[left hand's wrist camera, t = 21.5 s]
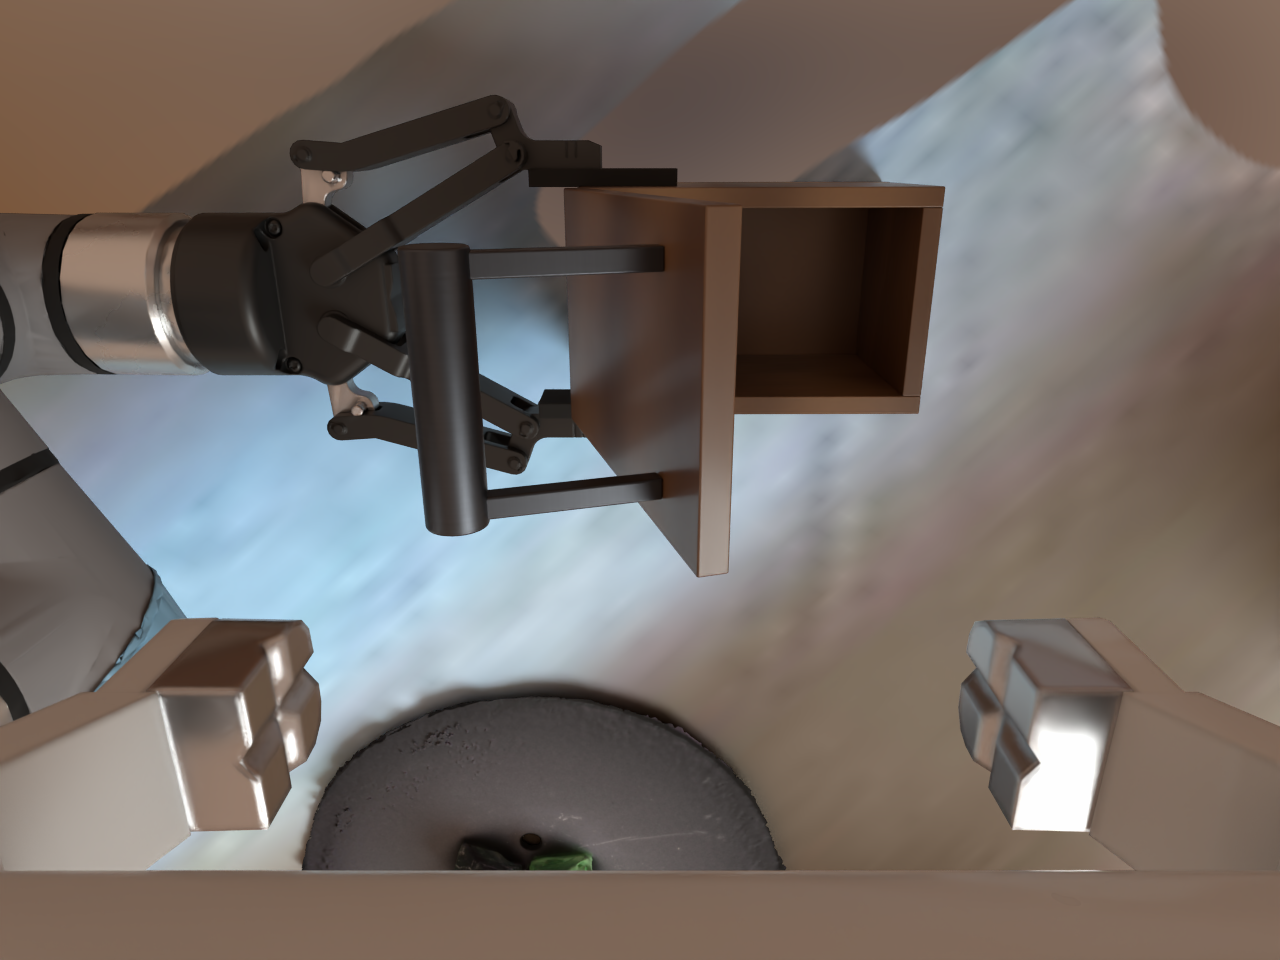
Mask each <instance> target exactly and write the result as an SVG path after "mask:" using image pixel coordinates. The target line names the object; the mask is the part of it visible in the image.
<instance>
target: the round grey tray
mask: <svg viewBox="0 0 1280 960" xmlns="http://www.w3.org/2000/svg"><path fill="white" fill-rule="evenodd" d="M486 701H487V700H486ZM486 701H478V702H468V703H461V704H458V705H456V706H452V707H448V708H445V709H443V710H436V711H435V712H432V713H429V714H426V715H425V716H422V717H421V718H420V719H417V720H414V721H413V722H411V721H410V723H406V724H404V725H402V726H400V727H398V728H397V729H396V728H395V730H392V731H390V732H387V733H386V734H384V736H380V739H379V740H375V741H373V742H371V743H370V745H369V746H368V747H367V748H364V749H361V750H360V751H358V752H357V753H356V754H355V755H353V757H352V759H351V761H346V764H345V765H344V766H343V767H341V768H339V770H338V771H337V773H336V774H337V775H336V776H334V778H333V779H332V781H331V782H330V783H329V784H328V786H327V787H326V788H325V791H324V792H325V793H324V795H323V798H322V800H321V803H320V804H319V806H318V807H319V810H318V809H317V810H318V811H317V810H316V812H317V813H315V816H314V819H313V820H315V821H314V823H313V827H312V831H311V836H310V837H311V839H310V840H308V842H307V844H306V850H305V851H306V852H305V853H306V854H305V857H304V860H303V864H302V868H303V869H302V870H534V871H535V870H539V871H541V870H544V871H547V870H549V871H553V870H554V871H558V870H559V871H778V870H785V869H786V867H785V866H784V865H782V863H783V862H782V859H781V857H780V856H778V855H777V851H776V849H775V848H774V846H775V845H774V841H772V838H773V837H771V835H770V831H769V828H768V827H767V826H765V824H766V823H767V821H766V819H765V818H764V817H763V816H764V815H763V814H762V813H761V811H760V808H759V807H758V805H757V804H756V800H755V798H754V797H753V796H751V793H750V792H751V790H750V789H749V788H747V786H746V785H744V783H743V782H742V780H740V779H739V778H738V777H737V778H736V777H735V776H736V775H735V774H734V773H733V770H732V769H731V767H728V766H727V764H726V763H724V762H723V760H722V761H721V760H720V758H717V759H716V755H714V754H713V753H712V752H710V751H709V750H708V749H706V748H703V747H702V745H701V744H702V743H699V742H698V741H697V740H695V739H694V738H693V737H691V736H690V735H689V734H688V733H684V731H683V728H681V727H679V726H678V727H676V728H674V726H673V724H671V723H668V724H664V723H662V722H661V721H658V719H657V718H656V717H654V718H650V717H648V715H647V716H645V715H639V714H636V712H635V713H633V712H631V711H630V710H626V709H625V710H624V711H623V710H622V708H621V709H620V708H619V709H618V708H617V707H614V706H612V705H609V707H608V706H607V705H602V704H603V703H602V704H599V702H597V703H595V702H594V701H592V700H590V699H588V700H585V699H569V698H568V699H565V698H561V699H560V697H540V696H537V697H534V696H530V697H527V698H524V697H520V698H515V699H514V698H512V699H510V698H508V699H499V700H493V701H487V702H486ZM525 834H535V835H537V836H539V837H540V839H541V841H540V843H539V845H538V844H537V845H531V846H530V845H528V843H525V842H523V841H522V837H523V836H524V835H525Z"/></svg>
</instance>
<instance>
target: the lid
mask: <svg viewBox="0 0 1280 960" xmlns="http://www.w3.org/2000/svg"><path fill="white" fill-rule="evenodd" d="M564 210H565V240H566V247H542V248H509V249H476V250H470V247H469V245H466V244H459V243H422V244H409V245H403V246H400V247H398V249H397V252H398V261H399V271H400V281H401V291H402V300H403V310H404V320H405V330H406V339H407V349H408V359H409V368H410V378H411V388H412V398H413V407H414V417H415V427H416V437H417V446H418V456H419V466H420V476H421V485H422V495H423V505H424V515H425V524H426V528H427V529H428V531H430V532H431V533H434V534H437V535H441V536H462V535H468V534H472V533H475V532H478V531H480V530H482V529H484V528H485V527H486V526H487V525H488V524H489V521H490V519H497V518H506V517H514V516H523V515H531V514H540V513H549V512H557V511H566V510H574V509H583V508H591V507H600V506H608V505H617V504H626V503H634V502H638V503H639V504H640V506H641V507H642V508H643V509H644V511H645V512H646V513H647V514H648V516H649V517H650V518H651V519H652V521H653V522H654V523H655V525H656V526H657V527H658V528H659V530H660V531H661V532H662V533H663V535H664V536H665V537H666V538H667V540H668V541H669V542H670V543H671V545H672V546H673V547H674V549H675V550H676V551H677V552H678V554H679V555H680V556H681V557H682V559H683V560H684V561H685V562H686V564H687V565H688V566H689V568H690V569H691V570H692V571H693V573H694V574H695V575H696V576H697V577H705V576H712V575H719V574H726V573H728V567H729V541H730V515H731V488H732V462H733V436H734V409H735V383H736V357H737V330H738V304H739V278H740V251H741V225H742V205H741V204H734V203H725V202H715V201H705V200H696V199H686V198H677V197H667V196H658V195H648V194H638V193H629V192H619V191H610V190H600V189H591V188H565V189H564ZM549 276H567V299H568V329H569V359H570V389H571V418H572V420H573V421H574V422H575V423H576V425H577V426H578V427H579V428H580V430H581V431H582V432H583V433H584V435H585V436H586V437H587V439H588V440H589V441H590V442H591V444H592V445H593V446H594V447H595V449H596V450H597V451H598V452H599V454H600V455H601V456H602V458H603V459H604V460H605V461H606V463H607V464H608V465H609V466H610V468H611V469H612V470H613V471H614V473H615V474H616V475H617V476H614V477H605V478H596V479H586V480H577V481H568V482H559V483H549V484H540V485H531V486H521V487H512V488H503V489H493V490H488V489H487V475H486V461H485V448H484V434H483V420H482V407H481V393H480V379H479V365H478V352H477V338H476V324H475V311H474V297H473V283H472V280H473V279H498V278H524V277H549Z"/></svg>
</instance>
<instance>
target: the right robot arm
mask: <svg viewBox="0 0 1280 960" xmlns="http://www.w3.org/2000/svg"><path fill="white" fill-rule="evenodd" d="M488 133H491V134H492V136H493V139H494V141H495V144H496V147H497V148H495V149H494V150H492V151H490V152H489V153H487V154H486V155H484V156H483V157H481V158H479V159H478V160H476V161H475V162H473V163H471V164H470V165H468V166H467V167H465V168H464V169H462V170H460V171H459V172H457V173H456V174H454V175H453V176H451V177H449V178H448V179H446V180H445V181H443V182H442V183H440V184H438V185H437V186H435V187H434V188H432V189H431V190H429V191H427V192H426V193H424V194H423V195H421V196H419V197H418V198H416V199H415V200H413V201H412V202H410V203H408V204H407V205H405V206H404V207H402V208H401V209H399V210H397V211H396V212H394V213H393V214H391V215H389V216H388V217H385V218H383V219H382V220H380V221H378V222H376V223H375V224H373V225H372V226H370V227H368V228H365V227H364V226H363V225H361V224H360V223H358V222H357V221H355V220H354V219H352V218H351V217H350V216H348V215H347V214H345V213H344V212H342V211H341V210H340V209H338V208H337V207H335V206H334V205H332V197H333V195H334V194H335V193H336V192H337V191H339V190H343V189H347V188H348V187H350V186H351V184H352V182H353V178H354V174H353V171H366V170H372V169H376V168H380V167H383V166H386V165H389V164H393V163H396V162H399V161H402V160H405V159H409V158H412V157H415V156H418V155H421V154H424V153H428V152H431V151H434V150H437V149H440V148H444V147H447V146H450V145H453V144H456V143H459V142H463V141H466V140H469V139H472V138H475V137H479V136H482V135H485V134H488ZM290 157H291V160H292V161H293V163H294V164H295V165H296V166H297V167H299V168H301V180H302V195H303V204H301V205H299V206H297V207H296V208H294V209H293V210H291V211H288V212H286V213H201V214H198V215H196V216H194V217H193V218H192V217H190V216H188V215H186V214H184V213H95V214H78V215H56V214H16V213H0V384H2V383H4V382H7V381H10V380H13V379H17V378H22V377H28V376H38V375H73V374H126V375H202V374H206V373H208V372H209V371H211V372H213V373H215V374H218V375H303V376H308V377H311V378H314V379H316V380H318V381H320V382H322V383H324V384H327V386H328V391H329V395H330V400H331V405H332V410H333V415H334V417H333V418H332V419H331V420H330V421H329V422H328V424H327V430H328V432H329V434H330V435H331V436H332V437H333V438H335V439H337V440H354V439H369V438H377V439H381V440H385V441H388V442H392V443H396V444H400V445H404V446H407V447H411V448H415V449H418V446H417V437H416V427H415V417H414V408H413V407H409V406H405V405H401V404H397V403H390V402H379V401H378V398H377V397H376V395H375V394H374V393H372V392H370V391H365V390H361V389H359V388H358V387H357V386H356V385H355V383H354V381H353V377H355V376H356V375H357V374H359V373H360V372H361V371H363V370H364V369H365V368H366V367H368V366H369V365H370V364H373V365H375V366H377V367H378V368H380V369H382V370H384V371H386V372H388V373H390V374H392V375H394V376H397V377H402V378H407V379H409V380H411V378H410V368H409V359H408V349H407V339H406V331H405V320H404V310H403V300H402V291H401V281H400V271H399V261H398V255H397V253H396V252H395V251H396V250H397V249H398V247H400V246H403V245H405V244H407V243H409V242H410V241H412V240H413V239H415V238H416V237H417V236H419V235H420V234H422V233H423V232H425V231H427V230H428V229H430V228H431V227H433V226H435V225H436V224H438V223H439V222H441V221H443V220H444V219H446V218H447V217H449V216H451V215H452V214H454V213H455V212H457V211H459V210H460V209H462V208H463V207H465V206H467V205H468V204H470V203H471V202H473V201H475V200H476V199H478V198H479V197H481V196H483V195H484V194H486V193H487V192H489V191H491V190H492V189H494V188H495V187H497V186H499V185H500V184H502V183H503V182H505V181H507V180H508V179H510V178H511V177H513V176H515V175H516V174H518V173H519V172H521V171H523V170H528V173H529V187H603V186H677V169H676V168H602V146H601V145H598V144H596V143H594V142H591V141H589V140H532V139H530V138H529V137H528V136H527V135H526V134H525V133H524V131H523V129H522V126H521V124H520V121H519V118H518V116H517V111H516V108H515V106H514V104H513V103H512V102H510V101H509V100H507V99H505V98H503V97H501V96H498V95H490V96H487V97H484V98H481V99H478V100H475V101H471V102H468V103H465V104H462V105H459V106H456V107H453V108H449V109H446V110H443V111H440V112H437V113H434V114H431V115H427V116H424V117H421V118H418V119H415V120H412V121H409V122H405V123H402V124H399V125H396V126H393V127H390V128H387V129H384V130H380V131H377V132H374V133H371V134H368V135H365V136H362V137H358V138H355V139H352V140H349V141H346V142H343V143H336V142H323V141H310V140H299V141H296V142H295V143H293V145H292V146H291V148H290ZM479 379H480V393H481V407H482V418H483V419H485V420H486V421H488V422H490V423H492V424H494V425H496V426H498V427H500V428H502V429H503V430H505V431H507V432H509V433H511V434H509V433H506V432H502V431H498V430H495V429H491V428H487V427H483V434H484V448H485V461H486V467H487V468H491V469H494V470H498V471H502V472H506V473H509V474H516V475H517V474H520V473H522V472H523V471H524V470H525V469H526V467H527V464H528V461H529V459H530V456H531V453H532V450H533V448H534V445H535V443H536V442H537V441H538V440H540V439H542V438H547V437H586V436H585V435H584V433H583V432H582V431H581V430H580V428H579V427H578V426H577V425H576V423H575V422H574V421H573V420H572V418H571V389H545V390H544V392H543V394H542V397H541V399H540V401H539V402H538V405H537V404H535V403H533V402H531V401H529V400H528V399H526V398H524V397H522V396H520V395H518V394H516V393H515V392H513V391H511V390H509V389H507V388H505V387H503V386H502V385H500V384H498V383H496V382H494V381H492V380H490V379H489V378H487V377H485V376H483V375H481V374H479ZM182 618H186V616H185V615H184V613H183V612H182V611H181V609H180V608H179V606H178V605H177V603H176V602H175V601H174V599H173V598H172V596H171V595H170V594H169V592H168V591H167V589H166V588H165V587H164V585H163V584H162V581H161V578H160V576H159V575H158V574H157V571H156V570H155V569H153V568H152V567H150V566H149V565H146V564H145V563H144V561H143V560H142V559H141V558H140V557H139V556H138V554H137V553H136V552H135V551H134V550H133V549H132V547H131V546H130V545H129V544H128V543H127V542H126V540H125V539H124V538H123V537H122V536H121V535H120V533H119V532H118V531H117V530H116V529H115V528H114V526H113V525H112V524H111V523H110V522H109V521H108V519H107V518H106V517H105V516H104V515H103V514H102V512H101V511H100V510H99V509H98V508H97V507H96V505H95V504H94V503H93V502H92V501H91V500H90V499H89V497H88V496H87V495H86V494H85V493H84V492H83V490H82V489H81V488H80V487H79V486H78V485H77V483H76V482H75V481H74V480H73V479H72V478H71V476H70V475H69V474H68V473H67V472H66V471H65V469H64V468H63V467H62V466H61V465H60V463H59V461H58V460H57V458H56V457H55V456H54V455H53V454H52V453H51V451H50V450H49V448H48V447H47V445H46V444H45V443H44V442H43V441H42V439H41V438H40V437H39V436H38V434H37V433H36V432H35V431H34V430H33V428H32V427H31V426H30V425H29V424H28V422H27V421H26V420H25V419H24V418H23V416H22V415H21V414H20V413H19V411H18V410H17V409H16V408H15V407H14V405H13V404H12V403H11V402H10V401H9V399H8V398H7V397H6V396H5V394H4V393H3V392H2V391H1V390H0V726H3V725H5V724H7V723H10V722H12V721H15V720H17V719H19V718H22V717H24V716H26V715H29V714H31V713H33V712H36V711H38V710H41V709H43V708H45V707H48V706H50V705H52V704H55V703H57V702H60V701H62V700H64V699H67V698H69V697H71V696H74V695H76V694H78V693H81V692H96V691H97V690H98V689H99V688H100V687H101V686H102V685H103V684H104V683H106V682H107V681H108V680H109V679H110V678H111V677H112V676H113V675H114V674H115V673H116V672H117V671H118V670H119V669H120V668H121V667H122V666H123V665H124V664H125V663H127V662H128V661H129V660H130V659H131V658H132V657H133V656H134V655H135V654H136V653H137V652H138V651H139V650H140V649H141V648H142V647H143V646H144V645H145V644H146V643H147V642H149V641H150V640H151V639H152V638H153V637H154V636H155V635H156V634H157V633H158V632H159V631H160V630H161V629H162V628H163V627H164V626H165V625H166V624H167V623H168V622H170V621H171V620H175V619H182Z"/></svg>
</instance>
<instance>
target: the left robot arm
mask: <svg viewBox="0 0 1280 960" xmlns="http://www.w3.org/2000/svg"><path fill="white" fill-rule="evenodd" d="M312 654H313V647H312V641H311V636H310V631H309V628H308V627H307V626H306V624H305V623H304V622H303V621H302V620H277V619H224V618H223V619H218V618H182V619H175V620H171V621H170V622H168V623H167V624H166V625H165V626H164V627H163V628H162V629H161V630H160V631H159V632H158V633H157V634H156V635H155V636H154V637H153V638H152V639H151V640H150V641H149V642H147V643H146V644H145V645H144V646H143V647H142V648H141V649H140V650H139V651H138V652H137V653H136V654H135V655H134V656H133V657H132V658H131V659H130V660H129V661H128V662H127V663H125V664H124V665H123V666H122V667H121V668H120V669H119V670H118V671H117V672H116V673H115V674H114V675H113V676H112V677H111V678H110V679H109V680H108V681H107V682H106V683H104V684H103V685H102V686H101V687H100V688H99V689H98V690H97V691H96V692H81V693H78V694H76V695H74V696H71V697H69V698H67V699H64V700H62V701H60V702H57V703H55V704H52V705H50V706H48V707H45V708H43V709H41V710H38V711H36V712H33V713H31V714H29V715H26V716H24V717H22V718H19V719H17V720H15V721H12V722H10V723H7V724H5V725H3V726H0V960H1280V727H1279V726H1277V725H1275V724H1272V723H1270V722H1268V721H1265V720H1263V719H1261V718H1258V717H1256V716H1254V715H1251V714H1249V713H1246V712H1244V711H1242V710H1239V709H1237V708H1235V707H1232V706H1230V705H1228V704H1225V703H1223V702H1220V701H1218V700H1216V699H1213V698H1211V697H1209V696H1206V695H1204V694H1202V693H1199V692H1184V691H1183V690H1182V689H1181V688H1180V687H1179V686H1178V685H1177V684H1176V683H1175V682H1174V681H1172V680H1171V679H1170V678H1169V677H1168V676H1167V675H1166V674H1165V673H1164V672H1163V671H1162V670H1161V669H1160V668H1159V667H1158V666H1157V665H1156V664H1155V663H1154V662H1153V661H1152V660H1151V659H1149V658H1148V657H1147V656H1146V655H1145V654H1144V653H1143V652H1142V651H1141V650H1140V649H1139V648H1138V647H1137V646H1136V645H1135V644H1134V643H1133V642H1132V641H1131V640H1130V639H1129V638H1128V637H1126V636H1125V635H1124V634H1123V633H1122V632H1121V631H1120V630H1119V629H1118V628H1117V627H1116V626H1115V625H1114V624H1113V623H1112V622H1111V621H1109V620H1106V619H1103V618H1100V617H1098V618H1074V619H1027V620H986V621H977V622H975V623H974V625H973V627H972V630H971V632H970V634H969V640H968V646H967V654H968V655H969V657H970V658H971V660H972V661H973V663H974V664H975V666H976V669H975V670H974V671H973V672H972V673H971V674H970V675H969V676H968V677H967V678H966V679H965V680H964V681H963V682H962V683H961V691H960V699H959V707H958V708H959V718H960V729H961V733H962V736H963V739H964V742H965V746H966V748H967V750H968V752H969V753H970V755H971V757H972V759H973V761H974V762H976V763H977V764H979V765H981V766H982V767H984V768H985V769H987V770H988V771H990V772H991V775H990V781H989V787H988V788H989V789H990V791H991V793H992V795H993V796H994V798H995V800H996V802H997V803H998V805H999V807H1000V809H1001V810H1002V812H1003V814H1004V816H1005V817H1006V819H1007V821H1008V823H1009V824H1010V826H1011V828H1012V829H1015V830H1052V831H1089V832H1090V833H1089V835H1090V836H1091V837H1092V838H1094V839H1095V840H1096V841H1098V842H1099V843H1100V844H1102V845H1103V846H1104V847H1106V848H1107V849H1108V850H1109V851H1111V852H1112V853H1113V854H1115V855H1116V856H1117V857H1119V858H1120V859H1121V860H1123V861H1124V862H1125V863H1126V864H1128V865H1129V866H1130V867H1132V868H1133V869H1134V870H778V871H559V870H558V871H554V870H553V871H549V870H547V871H544V870H541V871H539V870H535V871H534V870H146V869H147V868H149V867H150V866H151V865H153V864H154V863H155V862H156V861H158V860H159V859H160V858H162V857H163V856H164V855H166V854H167V853H168V852H170V851H171V850H172V849H174V848H175V847H176V846H177V845H179V844H180V843H181V842H183V841H184V840H185V839H187V838H188V837H189V836H190V835H191V833H190V832H191V831H227V830H262V829H268V828H269V826H270V825H271V823H272V821H273V819H274V818H275V816H276V814H277V812H278V811H279V809H280V807H281V805H282V803H283V802H284V800H285V798H286V796H287V795H288V793H289V791H290V789H291V788H292V787H291V781H290V775H289V772H290V771H292V770H293V769H295V768H296V767H298V766H299V765H301V764H303V763H304V762H306V761H307V759H308V757H309V755H310V753H311V751H312V749H313V748H314V746H315V744H316V739H317V735H318V731H319V727H320V722H321V696H320V690H319V683H318V682H317V681H316V680H315V679H314V678H313V677H312V676H311V675H310V674H309V673H308V672H307V671H306V670H305V669H304V666H305V664H306V663H307V661H308V660H309V658H310V657H311V655H312Z"/></svg>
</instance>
